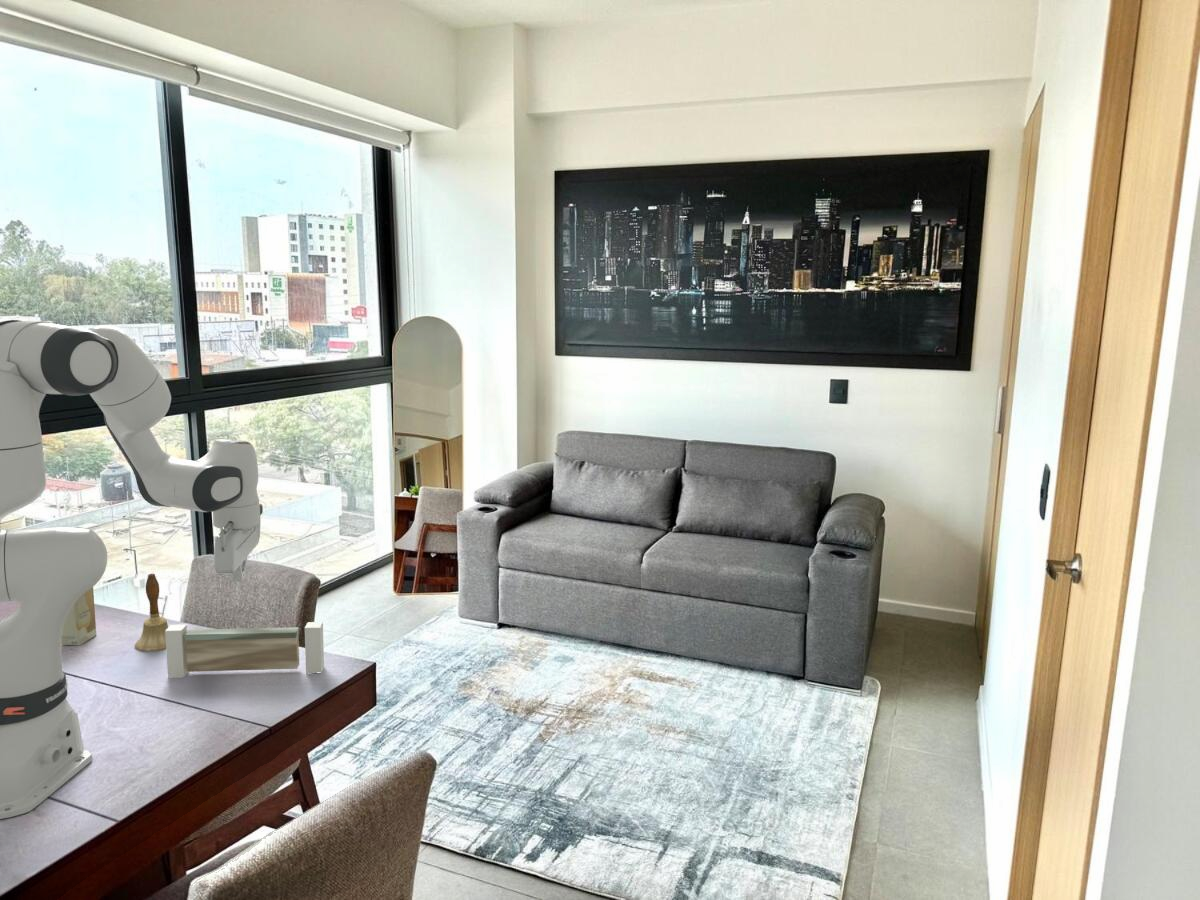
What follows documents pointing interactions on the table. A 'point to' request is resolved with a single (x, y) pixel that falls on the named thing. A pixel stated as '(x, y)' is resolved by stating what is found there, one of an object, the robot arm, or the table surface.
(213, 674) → the table surface
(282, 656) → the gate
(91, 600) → the skincare box
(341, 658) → the table surface
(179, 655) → the gate posts
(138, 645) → the hand bell
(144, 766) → the table surface
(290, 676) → the table surface
